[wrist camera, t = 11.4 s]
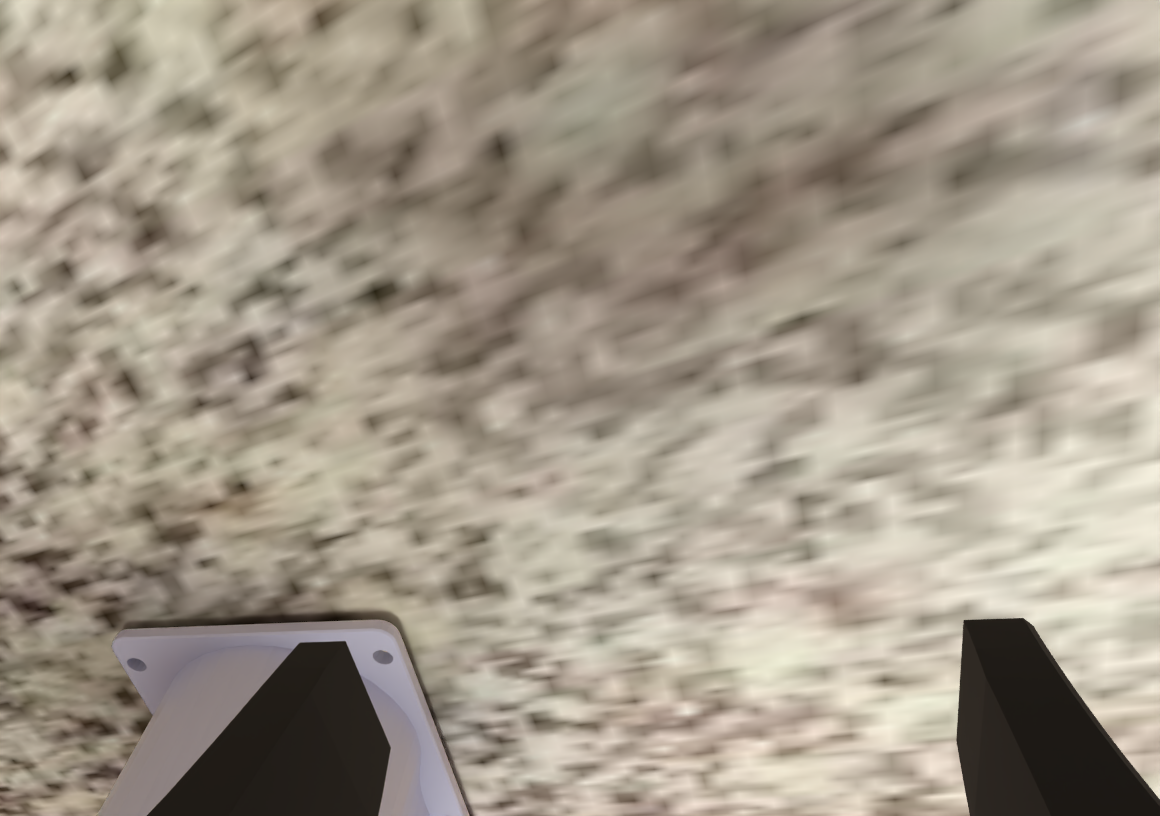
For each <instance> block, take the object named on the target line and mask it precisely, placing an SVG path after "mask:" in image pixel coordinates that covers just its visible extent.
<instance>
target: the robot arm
mask: <svg viewBox="0 0 1160 816" xmlns="http://www.w3.org/2000/svg"><path fill="white" fill-rule="evenodd" d="M112 649H113V652H114V653H115V655H116V657H117V658H118V660H119V662H120V663H121V665H122V666H123V668H124V670H125V671H126V673H127V675H128V676H129V678H130V680H131V681H132V683H133V684H134V686H135V688H136V689H137V691H138V693H139V694H140V696H141V697H142V699H143V701H144V702H145V704H146V706H147V707H148V709H149V710H150V712H151V714H152V715H153V717H152V718H151V720H150V722H149V724H148V725H147V727H146V729H145V731H144V732H143V734H142V736H141V738H140V740H139V741H138V743H137V745H136V747H135V748H134V750H133V752H132V754H131V756H130V757H129V759H128V761H127V763H126V764H125V766H124V768H123V770H122V772H121V773H120V775H119V777H118V779H117V780H116V782H115V784H114V786H113V787H112V789H111V791H110V793H109V795H108V796H107V798H106V800H105V802H104V803H103V805H102V807H101V809H100V811H99V812H98V814H97V816H469V813H468V810H467V808H466V805H465V802H464V800H463V797H462V795H461V792H460V789H459V787H458V784H457V781H456V779H455V776H454V774H453V771H452V768H451V766H450V763H449V760H448V758H447V755H446V753H445V750H444V747H443V745H442V742H441V739H440V737H439V734H438V732H437V729H436V726H435V724H434V721H433V718H432V716H431V713H430V711H429V708H428V705H427V703H426V700H425V697H424V695H423V692H422V689H421V687H420V684H419V682H418V679H417V676H416V674H415V671H414V668H413V666H412V663H411V661H410V658H409V655H408V653H407V650H406V647H405V645H404V642H403V640H402V637H401V634H400V632H399V631H398V629H397V628H396V627H395V626H394V625H393V624H391V623H390V622H387V621H384V620H351V621H324V622H298V623H271V624H245V625H218V626H192V627H165V628H139V629H125V630H121V631H120V632H119V633H118V634H117V636H116V637H115V639H114V640H113V642H112ZM382 650H383V651H382ZM384 651H387V652H384ZM957 746H958V752H959V758H960V763H961V769H962V775H963V780H964V786H965V791H966V797H967V802H968V807H969V813H970V816H1160V799H1159V798H1158V797H1157V796H1156V794H1155V793H1154V792H1153V791H1152V789H1151V788H1150V787H1149V786H1148V784H1147V783H1146V782H1145V781H1144V780H1143V778H1142V777H1141V776H1140V775H1139V773H1138V772H1137V771H1136V770H1135V768H1134V767H1133V766H1132V765H1131V763H1130V762H1129V761H1128V760H1127V758H1126V757H1125V756H1124V755H1123V753H1122V752H1121V751H1120V749H1119V748H1118V747H1117V745H1116V744H1115V743H1114V742H1113V740H1112V739H1111V738H1110V736H1109V735H1108V734H1107V732H1106V731H1105V730H1104V728H1103V727H1102V726H1101V724H1100V723H1099V722H1098V720H1097V719H1096V717H1095V716H1094V715H1093V713H1092V712H1091V711H1090V709H1089V708H1088V706H1087V705H1086V704H1085V702H1084V701H1083V700H1082V698H1081V697H1080V696H1079V694H1078V693H1077V691H1076V690H1075V688H1074V687H1073V686H1072V684H1071V683H1070V681H1069V680H1068V678H1067V677H1066V676H1065V674H1064V673H1063V671H1062V670H1061V668H1060V667H1059V665H1058V664H1057V662H1056V661H1055V659H1054V658H1053V656H1052V655H1051V653H1050V652H1049V650H1048V649H1047V647H1046V645H1045V644H1044V642H1043V641H1042V639H1041V638H1040V636H1039V634H1038V633H1037V631H1036V630H1035V628H1034V626H1033V625H1032V624H1030V623H1029V622H1028V621H1026V620H1025V619H1024V618H1013V619H983V620H964V625H963V641H962V658H961V675H960V691H959V708H958V725H957Z"/></svg>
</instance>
